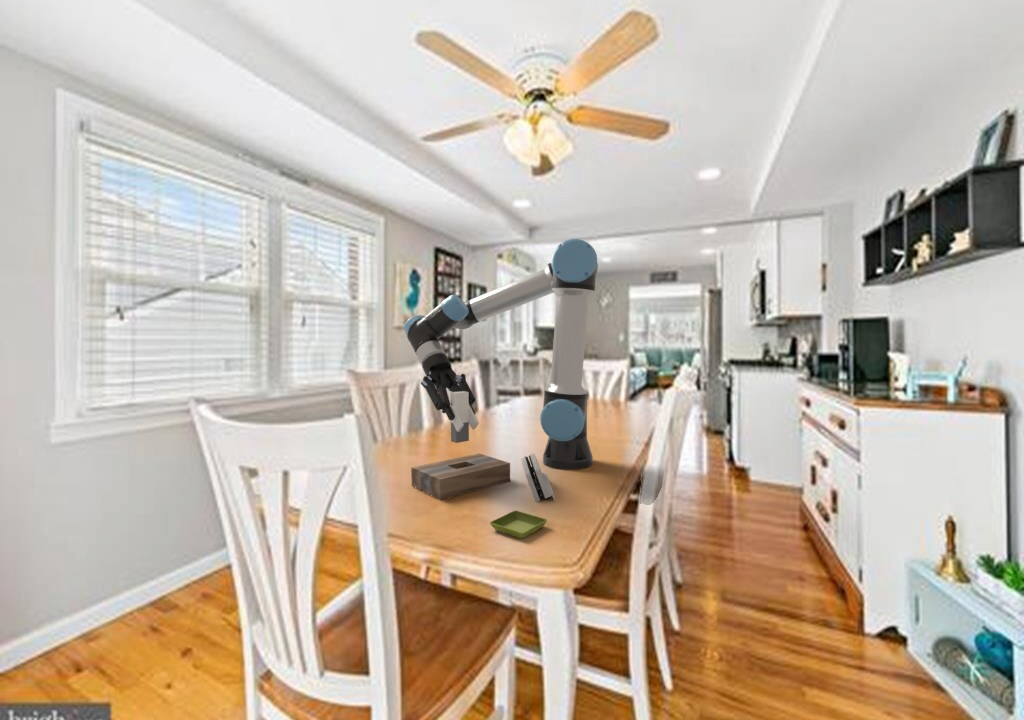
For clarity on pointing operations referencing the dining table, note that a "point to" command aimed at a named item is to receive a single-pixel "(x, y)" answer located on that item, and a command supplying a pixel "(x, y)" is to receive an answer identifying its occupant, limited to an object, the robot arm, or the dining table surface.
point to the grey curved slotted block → (540, 478)
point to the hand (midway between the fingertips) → (468, 427)
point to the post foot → (460, 475)
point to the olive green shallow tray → (518, 524)
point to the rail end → (462, 408)
